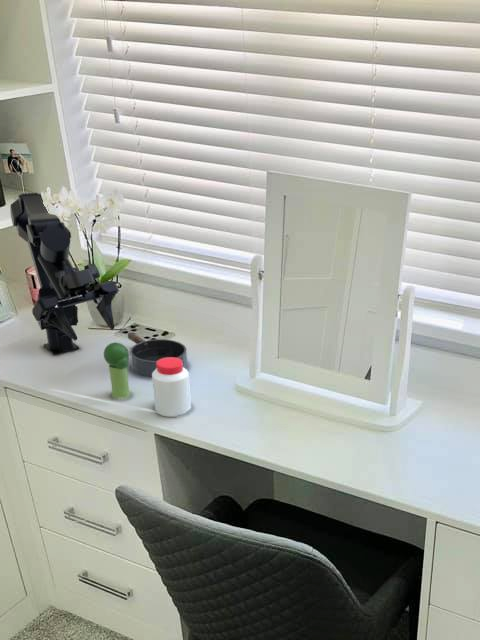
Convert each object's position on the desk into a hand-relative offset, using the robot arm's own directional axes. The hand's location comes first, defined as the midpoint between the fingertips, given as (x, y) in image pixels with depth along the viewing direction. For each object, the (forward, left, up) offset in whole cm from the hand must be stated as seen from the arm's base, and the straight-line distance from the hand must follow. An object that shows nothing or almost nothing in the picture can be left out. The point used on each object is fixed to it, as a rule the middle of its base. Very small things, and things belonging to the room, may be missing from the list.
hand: (95, 334), depth 172 cm
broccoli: (+8, +1, -12) cm, 14 cm away
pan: (0, +15, -12) cm, 19 cm away
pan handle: (-10, +15, -9) cm, 20 cm away
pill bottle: (+20, +7, -12) cm, 24 cm away
